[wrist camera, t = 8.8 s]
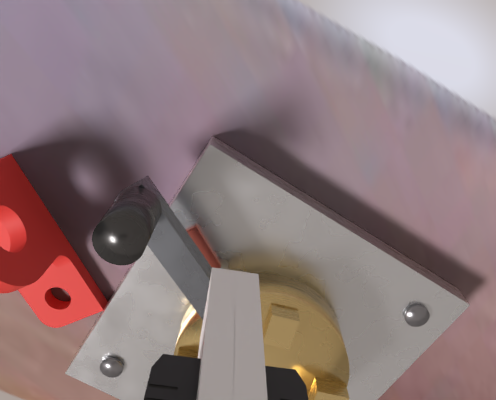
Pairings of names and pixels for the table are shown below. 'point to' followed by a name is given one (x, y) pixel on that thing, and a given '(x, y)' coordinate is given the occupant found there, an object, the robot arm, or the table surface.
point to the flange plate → (272, 262)
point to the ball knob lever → (197, 283)
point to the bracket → (40, 255)
